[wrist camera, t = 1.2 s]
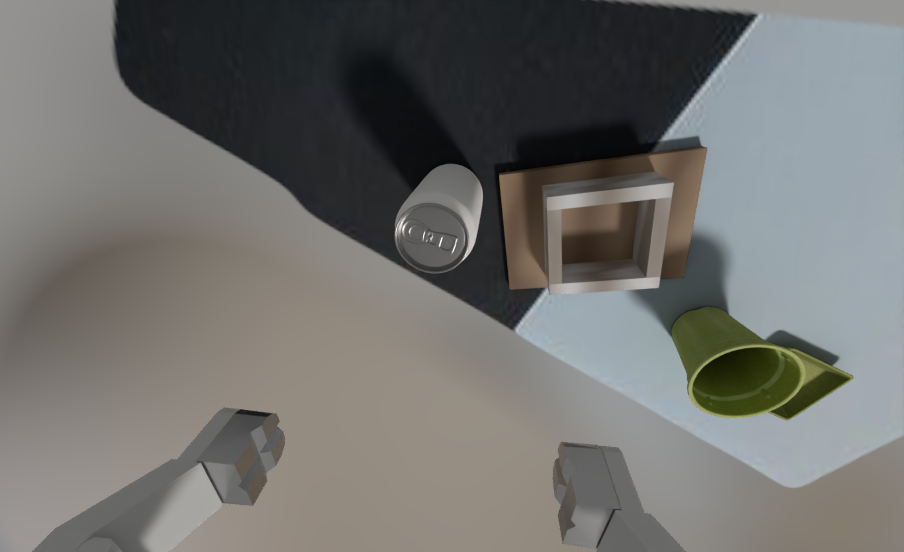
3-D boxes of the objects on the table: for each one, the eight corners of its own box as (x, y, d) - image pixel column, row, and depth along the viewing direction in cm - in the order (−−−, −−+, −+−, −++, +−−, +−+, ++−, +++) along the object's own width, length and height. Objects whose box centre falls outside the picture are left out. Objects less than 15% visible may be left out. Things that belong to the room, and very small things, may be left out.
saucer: (719, 382, 43) (729, 395, 42) (779, 335, 39) (792, 347, 37) (776, 407, 44) (787, 421, 42) (840, 364, 40) (856, 377, 38)
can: (430, 153, 34) (399, 184, 23) (492, 174, 34) (487, 214, 24) (415, 212, 37) (381, 262, 27) (471, 231, 37) (459, 288, 27)
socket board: (698, 145, 31) (734, 156, 26) (677, 270, 37) (702, 298, 32) (499, 171, 34) (498, 186, 30) (509, 283, 40) (510, 309, 36)
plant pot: (638, 345, 42) (668, 402, 34) (685, 282, 37) (732, 332, 30) (710, 367, 42) (755, 428, 34) (766, 307, 37) (833, 364, 30)
